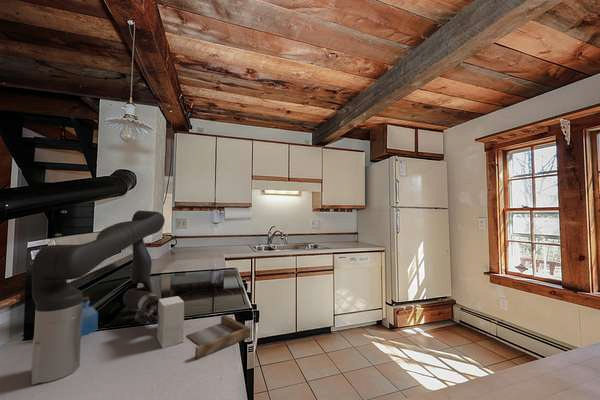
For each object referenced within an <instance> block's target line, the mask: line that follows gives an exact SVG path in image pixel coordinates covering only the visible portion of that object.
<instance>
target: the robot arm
mask: <svg viewBox="0 0 600 400" xmlns="http://www.w3.org/2000/svg"><path fill="white" fill-rule="evenodd" d="M164 224H165V217H164V215H163V214H162V213H161V212H159V211H151V210H137V211H136V212H135V213H134V214H133V216H132V218H131V220H129V221H122V222H117V223H114V224H112V225H109V226H106V227H105V228H104V229H103V228H102V230H100V231H99V233H98V234H97V236H96V238H95V240H91V241H90V242H85V243H81V244H50V245H46V246H43V247H42V248H40V249H39V250H38V251H37V253H36V254H35V255H34V258H33V261H32V265H31V296H32V300H33V302H34V303H35V312H34V313H35V314H34V315H35V316H34V327H33V328H34V330H33V333H34V334H33V339H32V355H31V368H30V369H31V371H30V376H31V377H30V379H31V380H30V381H31V386H33V385H36V384H40V383H47V382H53V381H56V380H58V379H59V380H60V379H62V378H64V377H66V376H68V375H71V374H72V373H74V372H75V371H77V370H78V369H79V368H80V362H81V345H82V343H81V341H82V337H81V326H82V306H83V297H84V293H83V291H82V290H80V289H79V288H76V287H74V286H72V285H71V284H69V282H68V281H69V280H75V279H80V278H82V277H83V276H86V275H87V274H89V272H91V271H93V269H94V270H95V268H96V267H98V266H99V265H100V264H102V263H103V262H105V261H106V260H108V259H109V258H111V257H112V256H115V255H116V254H118V253H120V252H121V251H124V250H126V249H127V248H129V247H130V246H132V267H131V273H130V281H131V282H133V283H135V284H142V286H143V287H142V286H140V287H134V288H129V289H127V290H126V291H125V292H124V294H123V295H122V302H123V304H124V305H125V306H126V307H127V308H129V309H136V310H138V311H136V320H137V321H138V323H139V324H142V325H143V324H144V323H145V322H146V323H148V324H150V325H153V326H154V325H156V324H157V320H158V302H159V299H164V298H162V297H161V296H159V295H157V294H155V293H154V291H153V287H152V281H151V273H152V264H153V263H152V262H153V261H152V258H151V255H150V252H149V250H148V249H147V246H146V244H145V241H144V238H147V237H149V236H151V235H155V234H156V233H157V234H158V232H160V231H161V230H162V229H163V227H164Z"/></svg>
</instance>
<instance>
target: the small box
mask: <svg viewBox="0 0 600 400" xmlns="http://www.w3.org/2000/svg"><path fill="white" fill-rule="evenodd" d="M184 324H185V301H184V300H183V299H182V298H181V297H180V296H178V295H177V296H170V297H164V298H163V299H159V302H158V318H157V329H156V330H157V331H156V339H157V341H158V343H159V345H160V346H161V348H162V349H164V348H168V347H171V346H174V345H177V344H181V343H184V331H185V330H184V326H185V325H184Z"/></svg>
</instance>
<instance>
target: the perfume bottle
mask: <svg viewBox="0 0 600 400" xmlns="http://www.w3.org/2000/svg"><path fill="white" fill-rule="evenodd" d="M89 299H90V297H89V296H83V306H82V326H81V338H83V337H85V336H84V335H86V336H88V335H90V334H89V333H91V334H93V333H95V331H96V330H97V331H98V327H99V325H98V324H99V323H98V322H99V312H98V311H97V310H96V308H95V307H94V306H91V305H90V300H89ZM97 331H96V332H97ZM92 332H93V333H92ZM87 334H88V335H87ZM82 336H83V337H82Z"/></svg>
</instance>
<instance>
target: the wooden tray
mask: <svg viewBox="0 0 600 400" xmlns="http://www.w3.org/2000/svg"><path fill="white" fill-rule="evenodd" d="M251 331H252V329H251V327H249V326H247V325H245V324H243V323H241V322H239V321H237V320H235V319H233V318H231V317H230V316H228V315H226V314H225V315H224V314H223V315H221V317H220V323H218V324H214V325H212V326H209V327H205V328H203V329H200V330H198V331H194V332H191V333H189V334H186V338H188V339H190V340H191V341H192V342H194V343H195V344H196V345H197V346H195V347H194V348H195V352H194V354H195V355H194V358H195V359H196V360H197V359H198V360H200V359H203V358H206V357H207V356H209V355H212V354H214V353H216V352H219V351H222V350H224V349H227V348H228V347H230V346H233V345H235V344H238V343H240V342H243V341H245V340H247V339H249V338H251V336H252V334H251V333H252V332H251ZM202 357H203V358H202Z"/></svg>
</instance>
